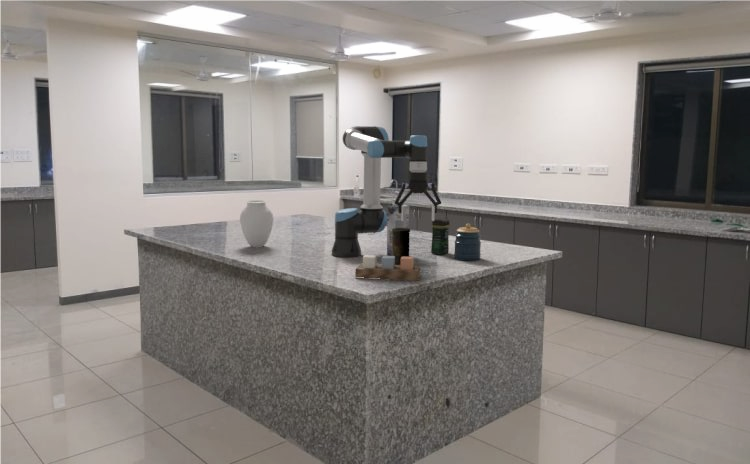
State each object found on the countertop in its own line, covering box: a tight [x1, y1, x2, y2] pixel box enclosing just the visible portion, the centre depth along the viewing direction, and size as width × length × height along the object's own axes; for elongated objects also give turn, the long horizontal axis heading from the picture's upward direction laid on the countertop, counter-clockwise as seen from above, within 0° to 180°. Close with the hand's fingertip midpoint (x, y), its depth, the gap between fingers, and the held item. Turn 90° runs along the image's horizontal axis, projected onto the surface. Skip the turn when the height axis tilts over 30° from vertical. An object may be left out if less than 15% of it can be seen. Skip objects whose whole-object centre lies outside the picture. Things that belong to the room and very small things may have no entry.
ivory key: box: [362, 254, 377, 268], centre depth 244 cm, size 5×5×6 cm
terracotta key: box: [400, 256, 415, 270], centre depth 241 cm, size 5×5×6 cm
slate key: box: [381, 255, 395, 269], centre depth 242 cm, size 5×5×6 cm
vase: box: [239, 200, 274, 248], centre depth 314 cm, size 18×18×25 cm
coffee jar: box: [430, 217, 450, 255], centre depth 298 cm, size 10×8×19 cm
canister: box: [453, 223, 482, 262], centre depth 284 cm, size 13×13×18 cm
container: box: [392, 228, 411, 265], centre depth 260 cm, size 9×9×18 cm
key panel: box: [355, 263, 421, 282], centre depth 243 cm, size 26×11×4 cm, turn 81°
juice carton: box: [386, 202, 410, 256], centre depth 290 cm, size 9×10×27 cm
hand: (417, 220), depth 250 cm, fingers open, 13 cm apart
